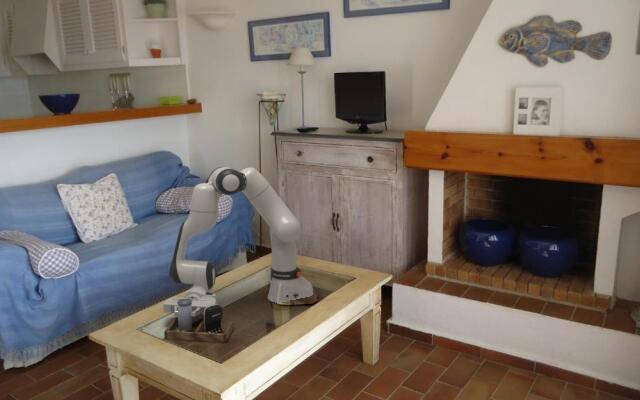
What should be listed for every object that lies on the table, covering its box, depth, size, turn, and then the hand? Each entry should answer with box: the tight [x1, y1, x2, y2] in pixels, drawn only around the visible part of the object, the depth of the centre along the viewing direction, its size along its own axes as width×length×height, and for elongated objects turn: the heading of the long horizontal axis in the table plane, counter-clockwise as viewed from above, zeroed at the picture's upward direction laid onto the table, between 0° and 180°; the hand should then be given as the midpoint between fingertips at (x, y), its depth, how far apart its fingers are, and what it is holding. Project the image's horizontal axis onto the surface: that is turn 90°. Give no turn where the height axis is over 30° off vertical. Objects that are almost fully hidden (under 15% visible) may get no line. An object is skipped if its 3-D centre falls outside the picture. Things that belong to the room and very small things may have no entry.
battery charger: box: [203, 303, 224, 334], centre depth 204 cm, size 7×4×11 cm, turn 134°
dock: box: [163, 316, 235, 343], centre depth 206 cm, size 23×13×3 cm, turn 86°
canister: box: [177, 298, 193, 332], centre depth 205 cm, size 5×5×11 cm
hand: (184, 314), depth 204 cm, fingers closed on canister, 5 cm apart
